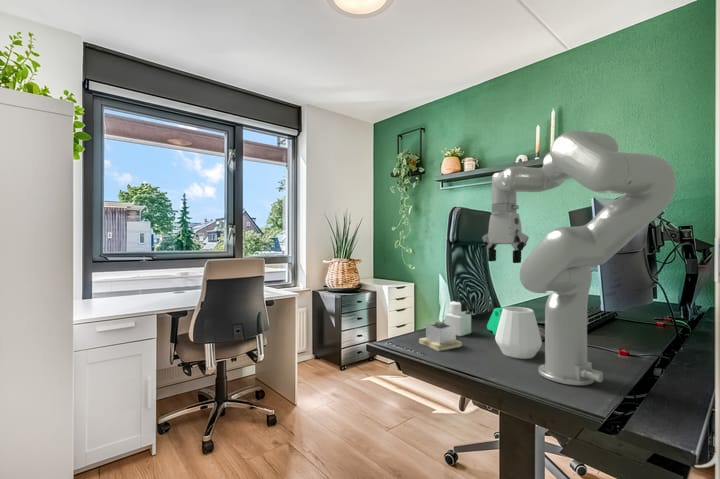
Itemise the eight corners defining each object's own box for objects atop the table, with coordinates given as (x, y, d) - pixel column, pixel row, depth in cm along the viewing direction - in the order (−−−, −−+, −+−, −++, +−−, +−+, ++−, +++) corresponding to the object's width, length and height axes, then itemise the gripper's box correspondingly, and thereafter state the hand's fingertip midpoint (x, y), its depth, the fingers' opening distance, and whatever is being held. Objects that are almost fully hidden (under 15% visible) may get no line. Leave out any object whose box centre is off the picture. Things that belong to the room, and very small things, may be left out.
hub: (455, 341, 119) (455, 326, 119) (439, 344, 115) (439, 329, 115) (441, 336, 125) (441, 322, 125) (425, 339, 121) (425, 324, 121)
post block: (461, 346, 118) (461, 324, 118) (438, 351, 113) (438, 327, 113) (441, 338, 127) (441, 318, 127) (419, 343, 122) (419, 321, 122)
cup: (551, 361, 104) (551, 313, 104) (505, 361, 104) (505, 313, 104) (529, 346, 117) (528, 305, 117) (488, 347, 117) (488, 305, 117)
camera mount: (525, 338, 128) (525, 310, 128) (507, 340, 126) (507, 311, 126) (504, 330, 139) (504, 304, 139) (487, 331, 137) (487, 305, 137)
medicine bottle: (455, 329, 140) (455, 299, 140) (471, 333, 134) (471, 301, 134) (444, 332, 135) (444, 301, 135) (460, 336, 130) (460, 304, 130)
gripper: (535, 208, 110) (535, 263, 111) (490, 212, 126) (490, 260, 126) (519, 207, 107) (519, 264, 107) (475, 211, 122) (475, 260, 122)
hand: (504, 261), depth 116 cm, fingers open, 9 cm apart
